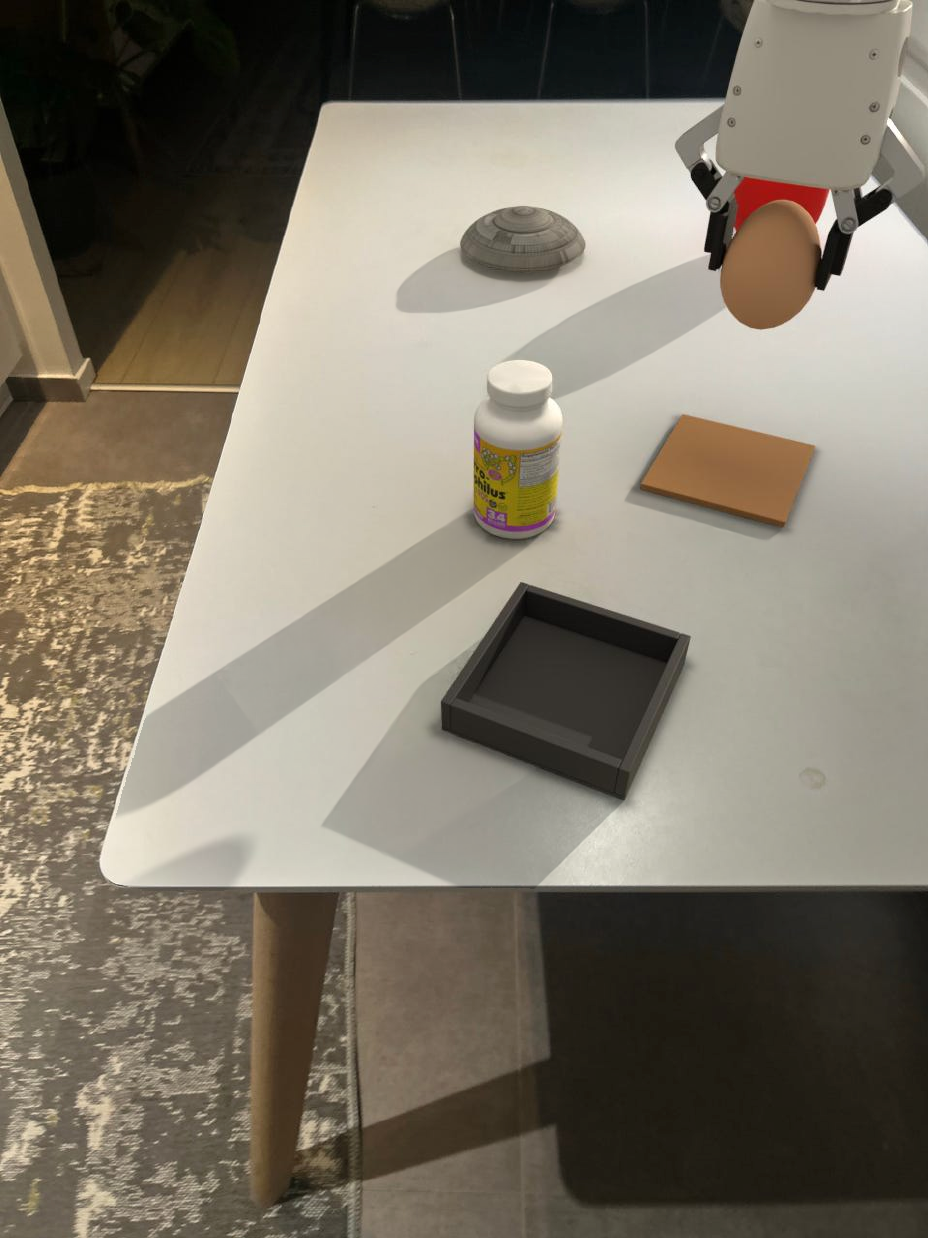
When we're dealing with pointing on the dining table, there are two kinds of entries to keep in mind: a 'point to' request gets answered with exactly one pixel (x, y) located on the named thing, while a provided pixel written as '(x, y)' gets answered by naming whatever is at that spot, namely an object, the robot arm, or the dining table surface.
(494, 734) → the tray
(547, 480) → the supplement bottle
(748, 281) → the egg
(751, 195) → the tomato
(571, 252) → the flying saucer
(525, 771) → the dining table surface
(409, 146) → the dining table surface
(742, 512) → the plate
